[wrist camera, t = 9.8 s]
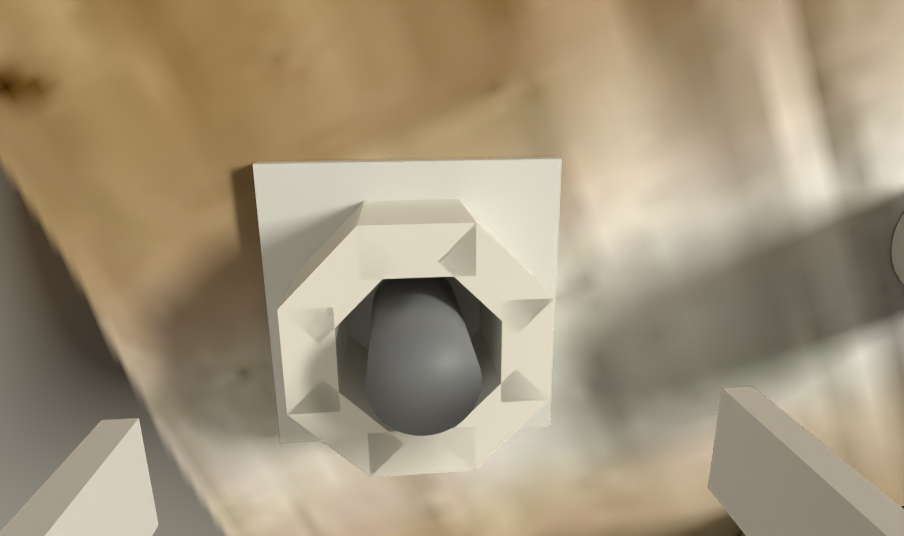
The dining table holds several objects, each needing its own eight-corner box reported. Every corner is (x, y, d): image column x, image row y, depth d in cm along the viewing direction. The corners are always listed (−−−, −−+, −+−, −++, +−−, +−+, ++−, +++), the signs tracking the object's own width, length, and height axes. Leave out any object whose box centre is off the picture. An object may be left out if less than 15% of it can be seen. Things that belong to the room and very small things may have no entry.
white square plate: (258, 161, 23) (191, 188, 15) (554, 156, 24) (632, 179, 16) (284, 430, 26) (239, 565, 18) (544, 415, 27) (605, 535, 19)
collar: (295, 202, 22) (269, 227, 18) (523, 197, 23) (557, 220, 18) (312, 410, 25) (293, 482, 20) (518, 398, 26) (547, 465, 21)
